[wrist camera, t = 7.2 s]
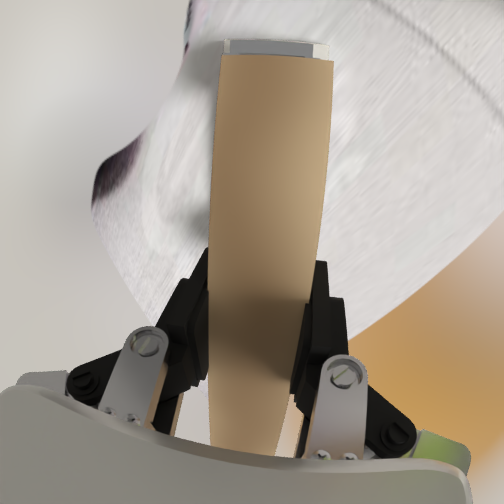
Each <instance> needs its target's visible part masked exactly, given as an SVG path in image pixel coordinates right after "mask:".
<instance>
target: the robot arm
mask: <svg viewBox="0 0 504 504" xmlns="http://www.w3.org/2000/svg"><path fill="white" fill-rule="evenodd" d="M208 249H209V248H206V249H205V250H204V252H203V254H202V256H201V258H200V259H199V261H198V263H197V265H196V267H195V269H194V271H193V273H192V275H191V276H190V278H189V279H186V278H182V279H181V280H180V281H179V283H178V285H177V287H176V288H175V290H174V292H173V294H172V296H171V298H170V299H169V301H168V303H167V305H166V307H165V309H164V311H163V312H162V314H161V316H160V318H159V320H158V322H157V324H156V326H155V327H153V326H146V327H141V328H138V329H136V330H135V331H133V332H132V333H131V334H130V335H129V336H128V338H127V339H126V341H125V344H124V346H123V348H122V349H121V350H119V351H116V352H114V353H111V354H109V355H106V356H104V357H101V358H98V359H96V360H93V361H90V362H88V363H85V364H83V365H80V366H78V367H76V368H74V369H73V370H72V371H71V372H70V373H68V372H67V371H66V370H64V371H49V372H29V373H25V374H23V375H22V376H21V377H20V378H19V379H18V381H17V383H16V386H11V387H9V388H7V389H5V390H4V391H2V393H0V504H473V500H472V494H471V488H470V485H469V482H468V480H467V477H466V476H467V473H468V469H469V466H470V462H471V455H470V451H469V450H468V448H467V447H466V446H465V445H463V444H461V443H458V442H455V441H452V440H450V439H447V438H444V437H442V436H439V435H437V434H434V433H431V432H429V431H427V430H424V429H423V430H421V431H419V430H417V429H416V428H415V426H414V424H413V423H412V422H411V420H410V419H409V418H407V417H406V416H405V415H404V414H403V413H401V412H400V411H399V410H398V409H396V408H395V407H394V406H393V405H392V404H390V403H389V402H388V401H387V400H386V399H385V398H383V397H382V396H381V395H380V394H379V393H378V392H376V391H375V390H374V389H373V388H372V387H370V386H369V385H368V375H367V370H366V368H365V366H364V365H363V364H362V362H360V361H359V360H358V359H356V358H355V357H353V356H349V353H348V339H347V327H346V317H345V307H344V300H343V298H336V297H329V283H328V269H327V262H326V261H319V260H316V262H315V268H314V274H313V281H312V287H311V293H310V299H309V304H308V303H305V308H304V314H303V320H302V325H301V330H300V336H299V341H298V346H297V351H296V356H295V361H294V366H293V371H292V375H291V380H290V389H289V394H295V395H294V402H296V407H297V408H298V409H299V410H300V411H301V412H302V413H303V416H302V420H301V425H300V430H299V435H298V440H297V444H296V448H295V453H294V457H293V458H288V457H278V456H269V455H261V454H254V453H247V452H241V451H235V450H230V449H224V448H219V447H214V446H209V445H205V444H201V443H196V442H193V441H189V440H185V439H181V438H177V437H174V435H175V430H176V425H177V421H178V416H179V412H180V408H181V404H182V399H183V395H184V392H185V391H187V390H189V389H190V388H191V386H195V387H198V385H199V382H200V380H205V378H206V375H207V372H208V369H209V291H208Z"/></svg>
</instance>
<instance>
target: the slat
mask: <svg viewBox="0 0 504 504" xmlns="http://www.w3.org/2000/svg"><path fill="white" fill-rule="evenodd" d="M333 66H334V61H329V60H321V59H313V58H303V57H291V56H275V55H222V57H221V66H220V76H219V86H218V97H217V108H216V120H215V133H214V147H213V162H212V179H211V198H210V220H209V249H208V291H209V369H208V395H209V420H210V421H209V422H210V442H211V446H214V447H219V448H224V449H230V450H235V451H241V452H247V453H254V454H261V455H269V456H274V455H275V452H276V448H277V444H278V441H279V437H280V433H281V429H282V425H283V421H284V418H285V414H286V410H287V405H288V401H289V397H290V394H289V389H290V380H291V375H292V371H293V366H294V361H295V356H296V351H297V346H298V341H299V336H300V330H301V325H302V320H303V314H304V308H305V303H308V304H309V299H310V293H311V287H312V281H313V274H314V268H315V262H316V255H317V248H318V241H319V234H320V226H321V218H322V210H323V202H324V193H325V184H326V174H327V163H328V152H329V140H330V127H331V111H332V93H333Z"/></svg>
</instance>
